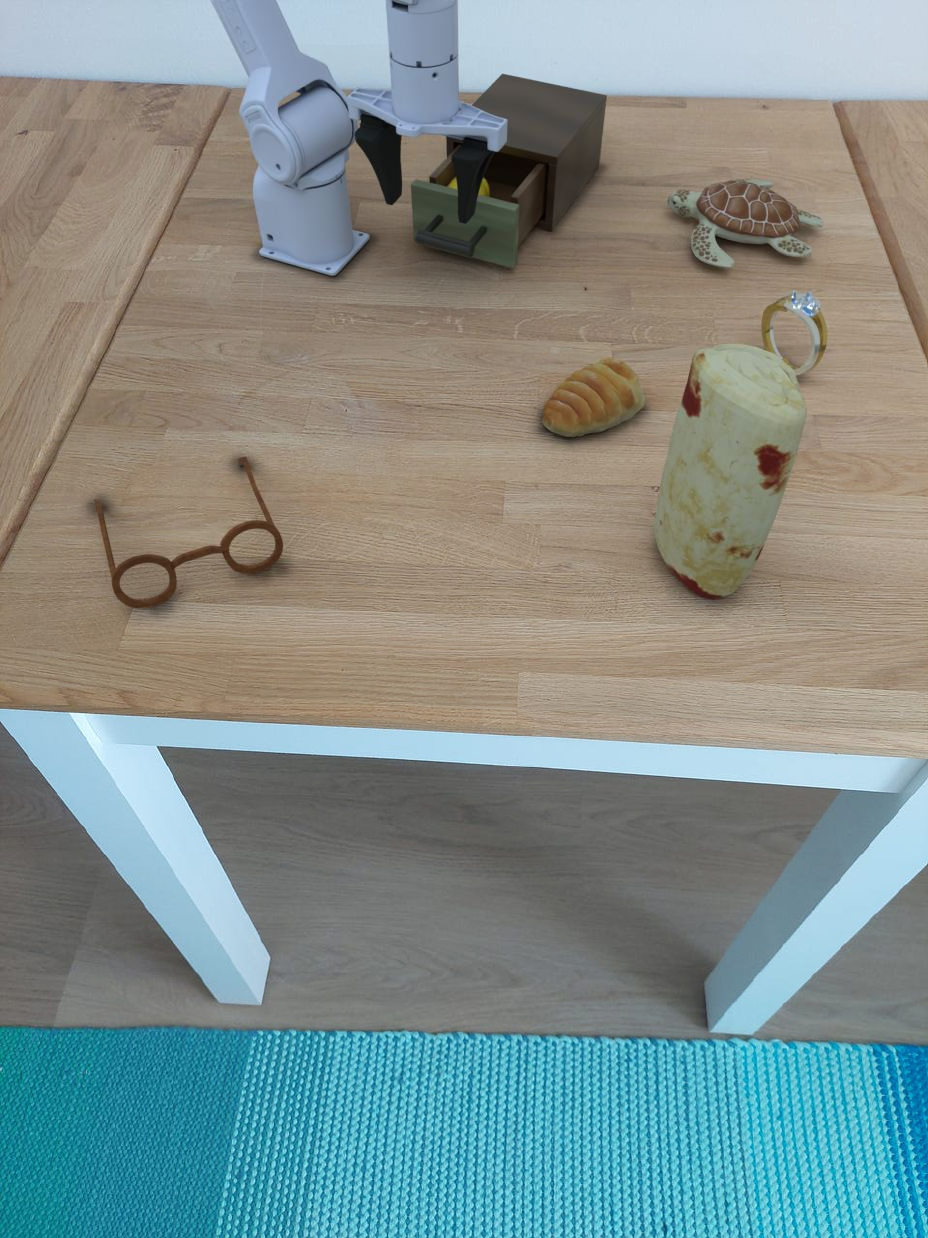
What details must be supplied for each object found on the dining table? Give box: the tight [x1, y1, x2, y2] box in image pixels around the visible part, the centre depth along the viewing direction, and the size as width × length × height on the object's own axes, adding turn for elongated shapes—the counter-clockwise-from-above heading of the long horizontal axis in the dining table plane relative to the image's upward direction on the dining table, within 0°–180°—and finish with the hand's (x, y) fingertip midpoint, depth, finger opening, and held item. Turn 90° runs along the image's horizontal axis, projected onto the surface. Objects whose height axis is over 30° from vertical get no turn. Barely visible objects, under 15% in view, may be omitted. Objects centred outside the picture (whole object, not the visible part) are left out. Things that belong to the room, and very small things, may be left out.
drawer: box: [410, 143, 549, 269], centre depth 98 cm, size 18×12×6 cm, turn 155°
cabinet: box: [445, 73, 608, 232], centre depth 105 cm, size 15×13×8 cm
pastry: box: [542, 357, 646, 438], centre depth 84 cm, size 9×7×4 cm
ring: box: [760, 289, 828, 377], centre depth 85 cm, size 7×3×8 cm, turn 25°
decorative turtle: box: [667, 178, 825, 269], centre depth 100 cm, size 18×17×5 cm
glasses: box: [93, 456, 284, 609], centre depth 75 cm, size 13×13×5 cm
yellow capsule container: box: [447, 177, 490, 197], centre depth 99 cm, size 6×4×4 cm
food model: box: [652, 343, 808, 600], centre depth 66 cm, size 10×7×20 cm
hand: (430, 208), depth 88 cm, fingers open, 7 cm apart
